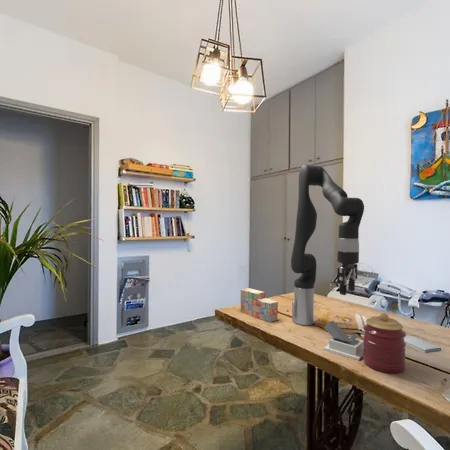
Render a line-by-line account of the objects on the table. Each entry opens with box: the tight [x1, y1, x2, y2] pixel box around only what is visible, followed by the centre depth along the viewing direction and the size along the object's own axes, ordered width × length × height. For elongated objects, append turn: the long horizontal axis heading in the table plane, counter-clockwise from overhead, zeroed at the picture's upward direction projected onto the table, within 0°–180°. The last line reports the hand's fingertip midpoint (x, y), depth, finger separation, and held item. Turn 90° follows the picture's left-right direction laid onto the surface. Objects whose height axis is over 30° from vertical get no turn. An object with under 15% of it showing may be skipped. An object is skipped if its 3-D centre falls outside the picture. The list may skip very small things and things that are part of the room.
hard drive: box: [404, 335, 442, 354], centre depth 119 cm, size 2×8×12 cm
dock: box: [323, 336, 364, 361], centre depth 114 cm, size 13×11×4 cm
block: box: [324, 320, 358, 344], centre depth 115 cm, size 6×4×10 cm
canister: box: [362, 312, 407, 374], centre depth 102 cm, size 13×13×18 cm
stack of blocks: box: [240, 287, 279, 323], centre depth 154 cm, size 21×6×12 cm, turn 38°
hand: (347, 292), depth 113 cm, fingers open, 8 cm apart
